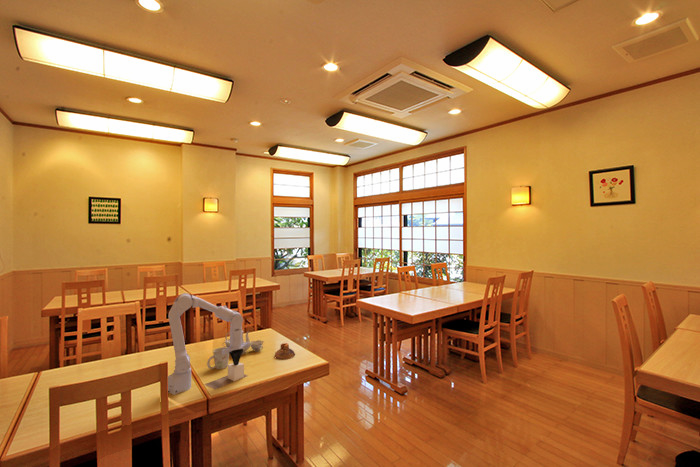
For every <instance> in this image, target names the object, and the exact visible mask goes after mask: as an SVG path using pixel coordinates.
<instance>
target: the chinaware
mask: <svg viewBox="0 0 700 467" xmlns="http://www.w3.org/2000/svg"><path fill="white" fill-rule="evenodd" d="M249 333H250V331H246V332H245V340H244V330H243V329H242V343H245V342H249V347H244V348H242V349H243V353H242V355H241V356H243V355H245V354H246V351H248V350H249V349H252V350H253V351H254V350H255V351H254V352H260V351H262V350H263V349H264V348H263V347H264V346H263V345H264V342H265V341H264V340H260V339H257V340H251V341H250V337H249ZM228 335H230V331H229V332H227V333H226V335H225V340H224V342H223V343H224V344H225V345H224V344H222V346H223V347H226V348H227V347H229V346H230V338H229V339H228V338H227V337H228ZM258 350H259V351H258Z"/></svg>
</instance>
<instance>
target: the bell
mask: <svg viewBox="0 0 700 467" xmlns="http://www.w3.org/2000/svg"><path fill="white" fill-rule="evenodd" d="M294 356H295V351H294V350H293V349H291V348H290V346H289V343H285V342H284V343H281V344H280V347H279V349H278V350H277V351H276V352H275V353H274V358H275V357H276V360H288V358H289V359H291V357H292V358H294Z"/></svg>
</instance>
